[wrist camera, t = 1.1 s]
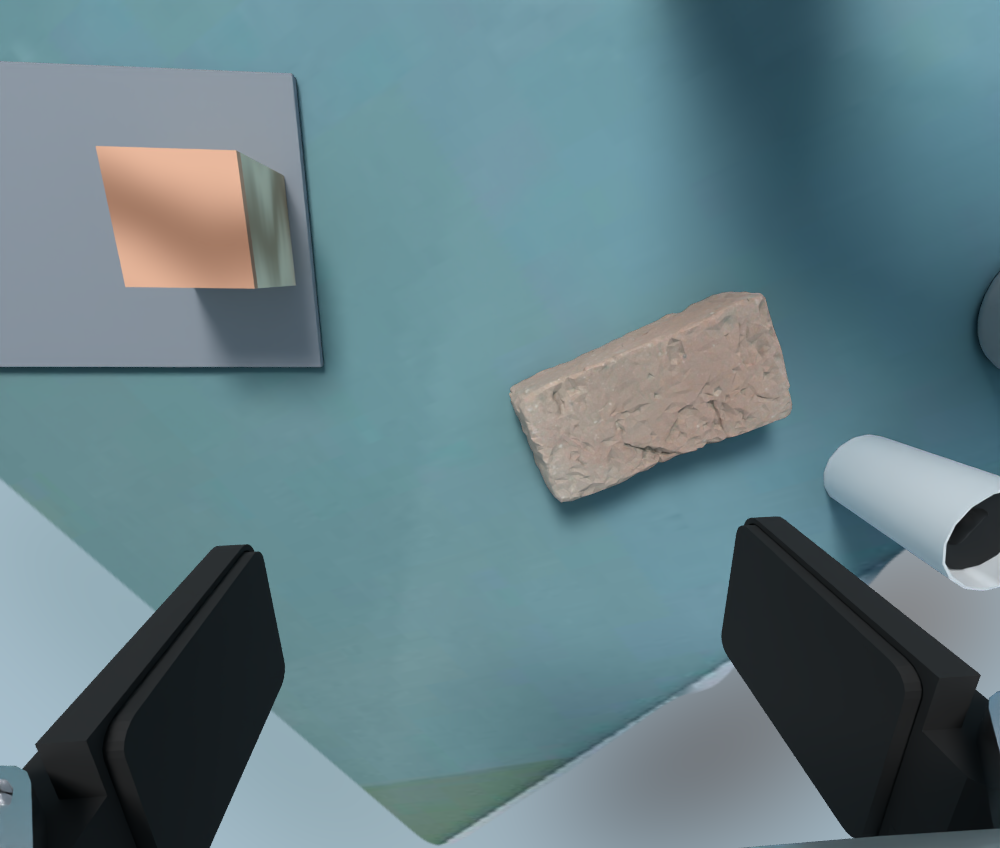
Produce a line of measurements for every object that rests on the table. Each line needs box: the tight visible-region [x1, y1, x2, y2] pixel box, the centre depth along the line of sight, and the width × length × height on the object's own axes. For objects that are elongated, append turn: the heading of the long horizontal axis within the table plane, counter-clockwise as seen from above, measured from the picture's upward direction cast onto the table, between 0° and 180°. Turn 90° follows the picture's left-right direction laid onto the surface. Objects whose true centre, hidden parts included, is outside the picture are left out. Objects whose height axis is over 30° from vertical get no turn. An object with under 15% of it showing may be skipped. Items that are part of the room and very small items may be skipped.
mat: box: [0, 61, 323, 367], centre depth 28 cm, size 16×22×1 cm
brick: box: [509, 292, 792, 502], centre depth 31 cm, size 16×8×5 cm, turn 113°
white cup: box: [824, 434, 1000, 591], centre depth 32 cm, size 7×7×10 cm
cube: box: [96, 146, 296, 289], centre depth 25 cm, size 6×6×6 cm
